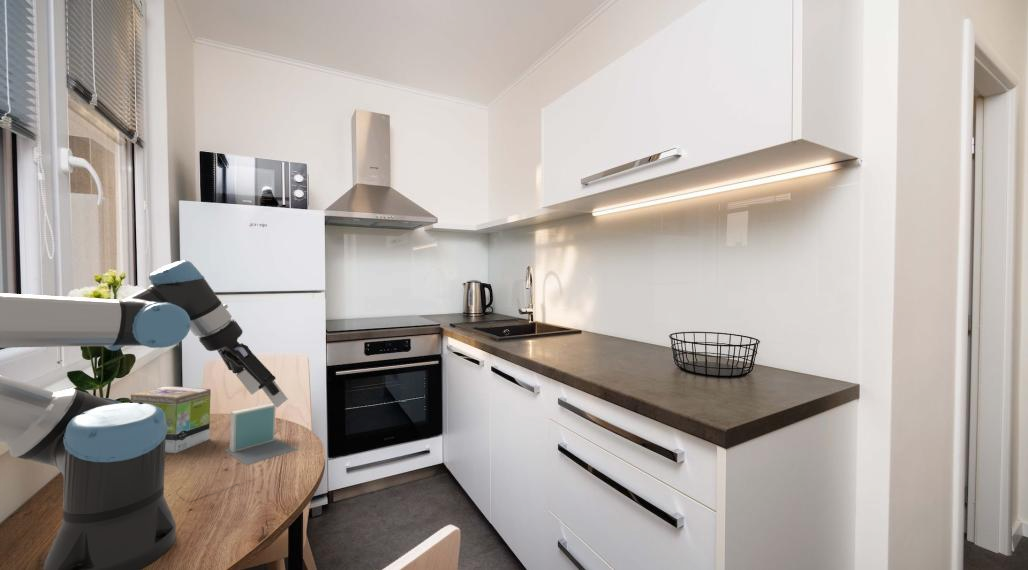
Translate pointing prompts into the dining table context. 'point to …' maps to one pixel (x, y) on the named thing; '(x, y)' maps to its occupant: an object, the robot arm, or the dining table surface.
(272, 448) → the mat
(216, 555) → the dining table surface
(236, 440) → the tile
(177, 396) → the tea box
